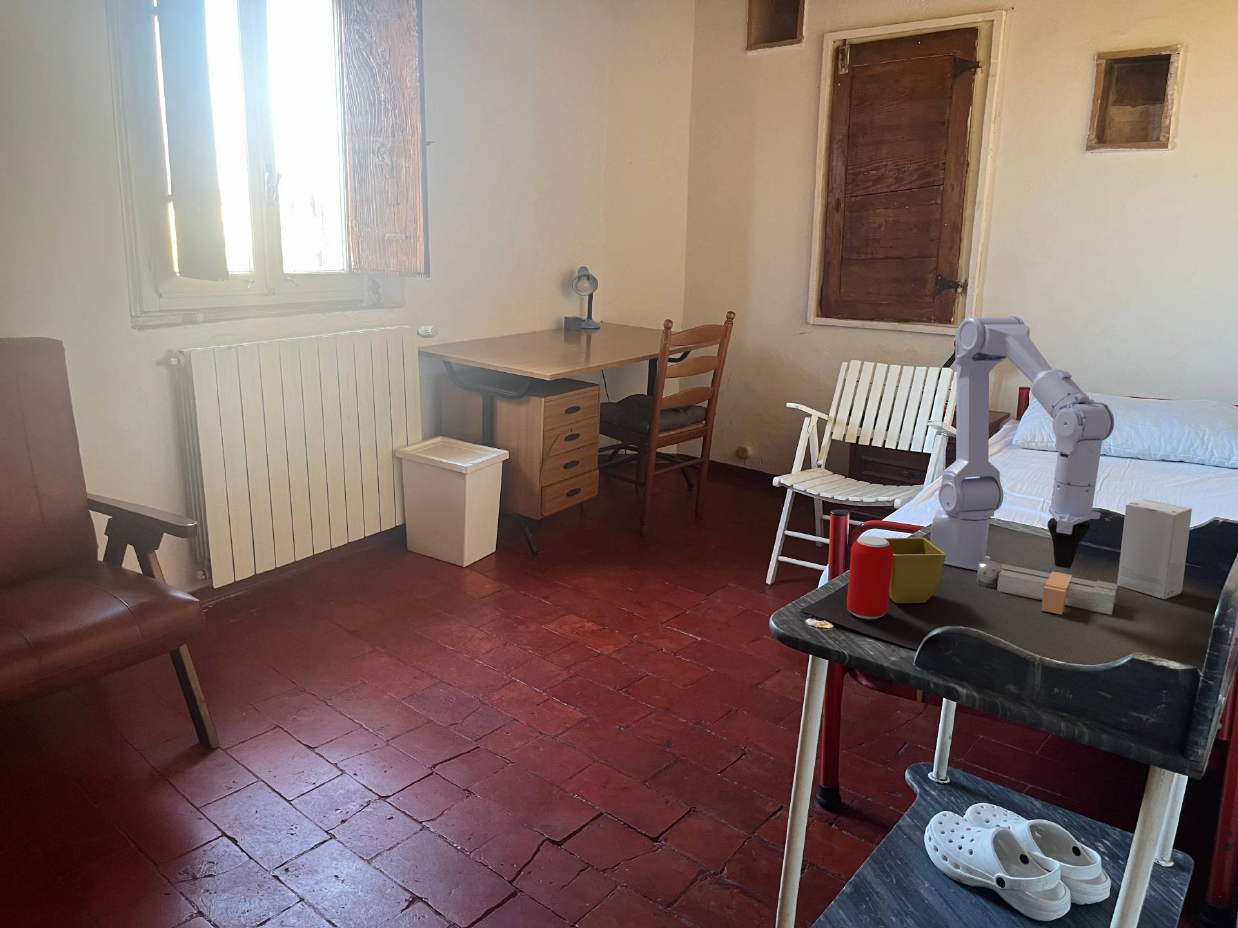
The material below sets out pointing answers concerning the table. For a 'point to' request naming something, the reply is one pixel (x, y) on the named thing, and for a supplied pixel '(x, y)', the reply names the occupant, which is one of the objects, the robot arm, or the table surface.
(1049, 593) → the block
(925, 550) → the flower pot
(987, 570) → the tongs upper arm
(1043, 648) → the table surface
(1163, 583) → the skincare box
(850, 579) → the beverage can
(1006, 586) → the tongs lower arm
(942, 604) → the table surface
